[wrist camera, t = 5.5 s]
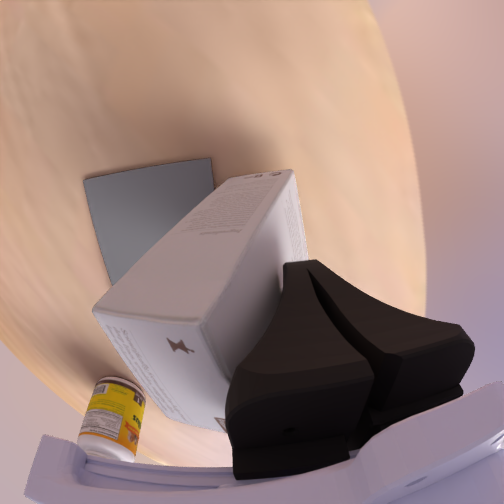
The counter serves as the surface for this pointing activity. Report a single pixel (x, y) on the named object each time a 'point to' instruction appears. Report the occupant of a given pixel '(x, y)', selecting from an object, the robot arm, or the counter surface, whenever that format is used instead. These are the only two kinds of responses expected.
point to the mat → (143, 208)
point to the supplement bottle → (113, 420)
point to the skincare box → (206, 295)
